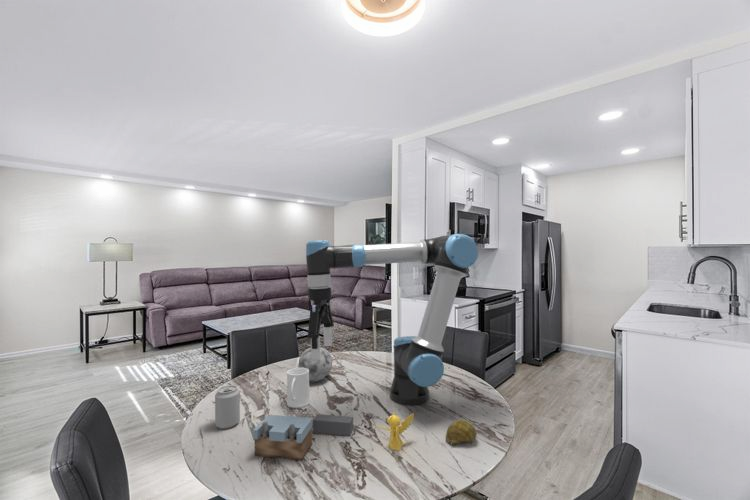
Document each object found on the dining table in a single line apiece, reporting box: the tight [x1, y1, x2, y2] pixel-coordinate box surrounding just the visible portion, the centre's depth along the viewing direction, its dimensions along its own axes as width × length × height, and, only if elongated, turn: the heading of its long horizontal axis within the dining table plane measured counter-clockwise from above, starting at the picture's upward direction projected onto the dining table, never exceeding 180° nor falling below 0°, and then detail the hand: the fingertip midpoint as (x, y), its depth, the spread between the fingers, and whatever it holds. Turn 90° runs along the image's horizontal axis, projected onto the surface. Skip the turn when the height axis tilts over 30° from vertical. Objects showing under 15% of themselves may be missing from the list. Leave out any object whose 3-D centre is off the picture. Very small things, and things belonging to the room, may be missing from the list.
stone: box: [297, 346, 333, 383], centre depth 150 cm, size 15×16×15 cm
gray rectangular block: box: [312, 413, 354, 437], centre depth 107 cm, size 12×4×4 cm, turn 80°
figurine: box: [374, 412, 415, 451], centre depth 100 cm, size 12×12×9 cm
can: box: [214, 384, 241, 430], centre depth 112 cm, size 8×8×12 cm
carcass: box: [254, 422, 313, 461], centre depth 97 cm, size 14×8×9 cm, turn 80°
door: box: [252, 414, 314, 443], centre depth 97 cm, size 14×9×2 cm, turn 80°
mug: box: [286, 367, 311, 409], centre depth 126 cm, size 12×8×12 cm
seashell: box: [445, 419, 478, 445], centre depth 101 cm, size 10×7×8 cm
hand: (322, 352), depth 112 cm, fingers open, 13 cm apart
